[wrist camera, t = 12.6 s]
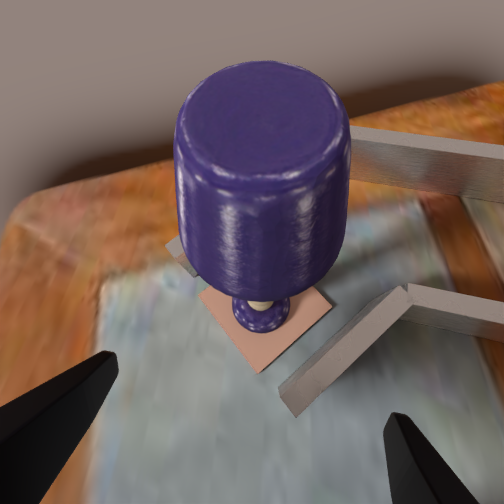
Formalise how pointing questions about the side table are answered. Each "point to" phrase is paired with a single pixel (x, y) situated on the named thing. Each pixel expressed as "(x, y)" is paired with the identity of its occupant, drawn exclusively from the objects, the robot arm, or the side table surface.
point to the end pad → (272, 343)
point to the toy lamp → (262, 185)
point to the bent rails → (409, 295)
